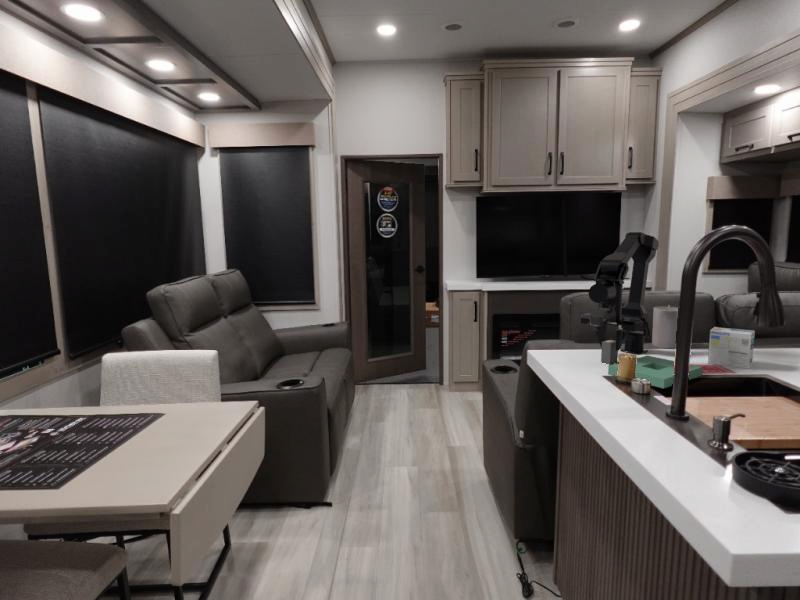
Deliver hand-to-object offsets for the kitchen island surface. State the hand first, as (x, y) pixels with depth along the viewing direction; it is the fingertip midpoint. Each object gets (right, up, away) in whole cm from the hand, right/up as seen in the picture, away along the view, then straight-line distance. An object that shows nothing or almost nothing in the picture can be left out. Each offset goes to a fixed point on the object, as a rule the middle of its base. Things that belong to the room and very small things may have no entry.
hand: (609, 349), depth 148 cm
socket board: (+7, -6, -12) cm, 16 cm away
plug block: (0, -5, +1) cm, 5 cm away
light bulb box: (+35, -5, -3) cm, 36 cm away
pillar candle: (+30, -1, +22) cm, 37 cm away
